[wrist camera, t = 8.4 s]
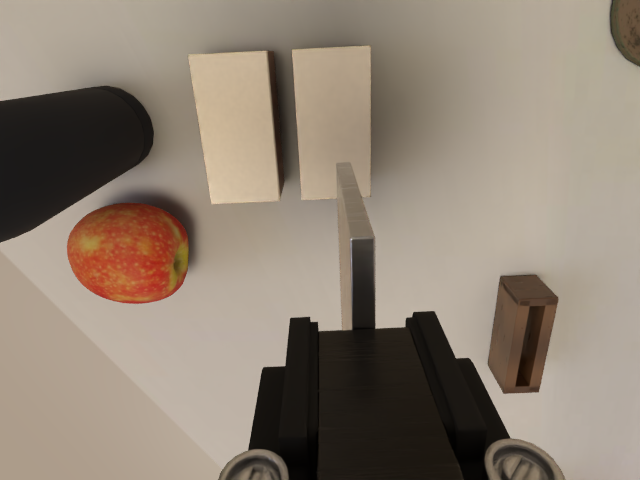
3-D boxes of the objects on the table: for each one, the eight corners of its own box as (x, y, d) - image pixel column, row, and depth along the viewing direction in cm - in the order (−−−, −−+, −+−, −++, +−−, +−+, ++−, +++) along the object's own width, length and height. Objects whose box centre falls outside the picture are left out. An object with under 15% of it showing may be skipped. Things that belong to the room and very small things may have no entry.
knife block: (500, 276, 39) (519, 299, 35) (536, 274, 39) (559, 297, 35) (487, 365, 43) (503, 393, 39) (520, 363, 43) (538, 392, 39)
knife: (313, 163, 17) (304, 397, 5) (372, 160, 17) (501, 387, 5) (323, 329, 20) (331, 714, 8) (373, 326, 20) (454, 711, 8)
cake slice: (295, 50, 31) (291, 49, 27) (363, 46, 31) (371, 45, 27) (303, 181, 35) (301, 200, 31) (363, 178, 35) (370, 197, 31)
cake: (206, 54, 31) (187, 54, 27) (273, 51, 31) (266, 50, 27) (224, 185, 35) (211, 204, 31) (284, 182, 35) (279, 201, 31)
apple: (195, 279, 39) (167, 331, 32) (102, 266, 38) (51, 316, 31) (199, 197, 36) (169, 234, 28) (98, 181, 35) (40, 215, 28)
